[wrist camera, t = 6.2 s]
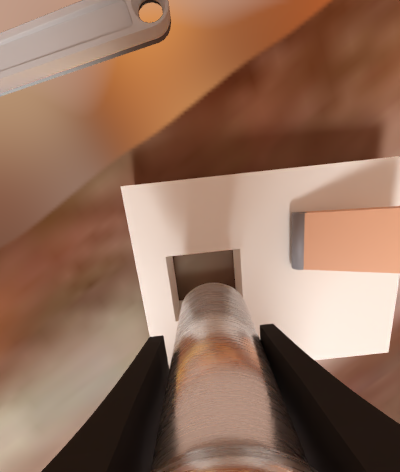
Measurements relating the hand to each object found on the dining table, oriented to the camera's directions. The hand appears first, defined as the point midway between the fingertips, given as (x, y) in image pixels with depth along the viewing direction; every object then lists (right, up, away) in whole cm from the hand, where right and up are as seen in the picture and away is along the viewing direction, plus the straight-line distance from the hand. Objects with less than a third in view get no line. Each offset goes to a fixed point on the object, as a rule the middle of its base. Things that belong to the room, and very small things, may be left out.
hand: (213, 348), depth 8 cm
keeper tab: (+10, +5, +4) cm, 11 cm away
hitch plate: (+5, +2, +9) cm, 10 cm away
